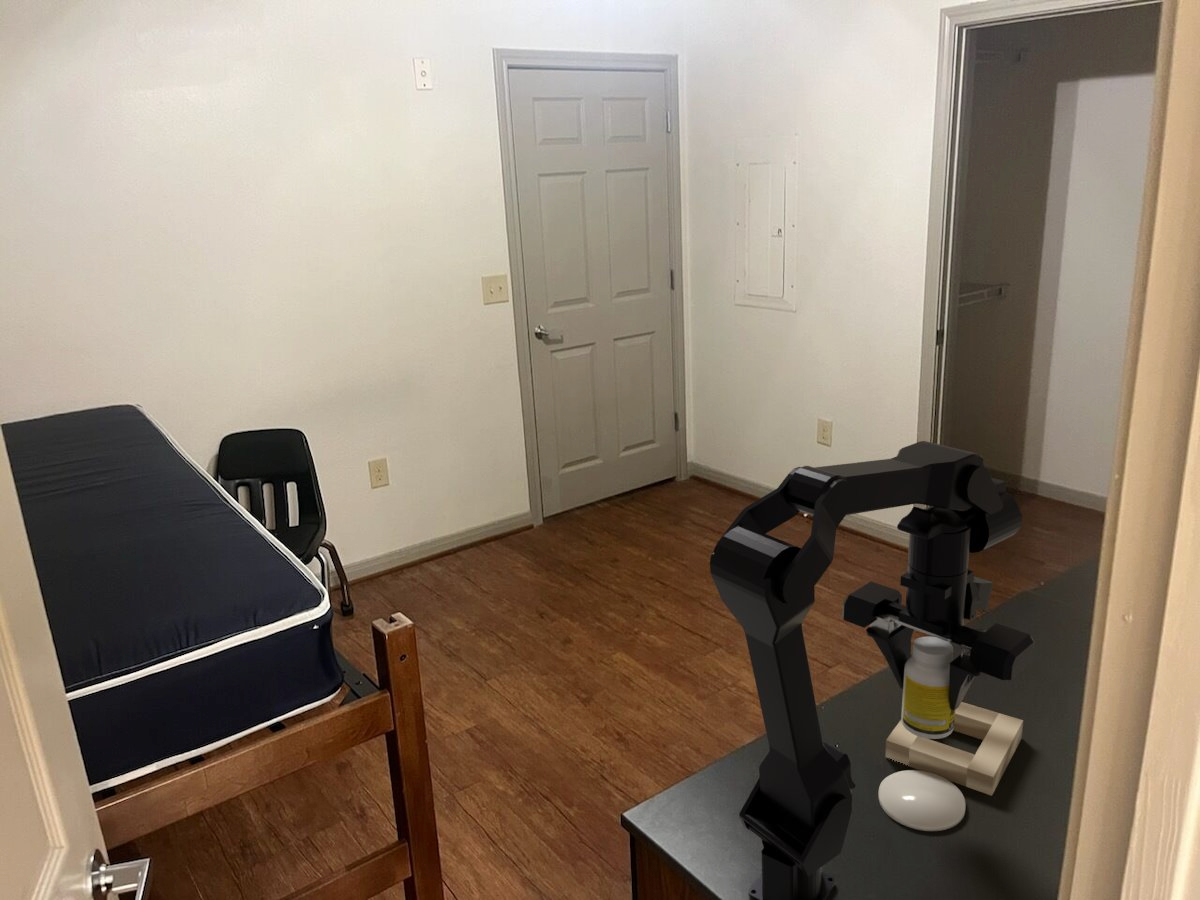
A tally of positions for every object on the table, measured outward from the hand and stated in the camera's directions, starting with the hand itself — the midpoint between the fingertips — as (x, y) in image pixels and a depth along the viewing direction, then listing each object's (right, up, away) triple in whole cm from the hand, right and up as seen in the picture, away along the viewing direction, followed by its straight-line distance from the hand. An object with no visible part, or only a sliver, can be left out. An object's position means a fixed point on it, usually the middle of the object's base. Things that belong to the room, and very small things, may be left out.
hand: (929, 697), depth 96 cm
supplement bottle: (0, -3, +1) cm, 4 cm away
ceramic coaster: (0, -12, +3) cm, 13 cm away
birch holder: (+7, -9, +11) cm, 16 cm away
